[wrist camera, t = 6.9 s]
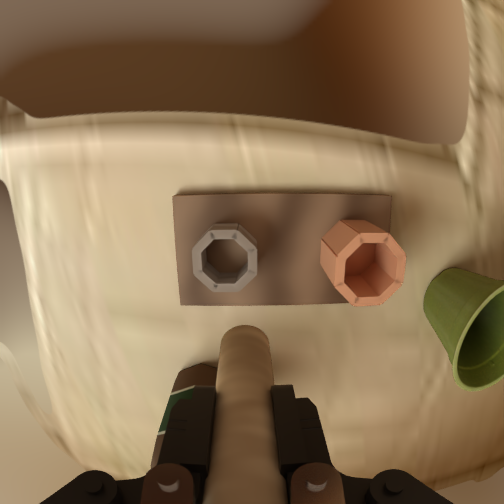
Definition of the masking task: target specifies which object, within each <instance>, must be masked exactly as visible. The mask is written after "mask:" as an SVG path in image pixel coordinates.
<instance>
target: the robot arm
mask: <svg viewBox="0 0 504 504" xmlns="http://www.w3.org/2000/svg"><path fill="white" fill-rule="evenodd" d="M216 394H217V391H216V386H196V385H195V386H194V390H193V394H192V399H179V400H178V401H177V402H176V404H175V405H174V406H173V407H172V408H171V411H170V415H169V421H168V423H167V427H166V431H165V434H164V438H163V442H162V446H161V450H160V454H159V458H158V462H157V465H156V466H155V467H153V468H151V469H150V470H149V471H148V472H147V473H146V475H145V476H143V477H140V478H137V479H129V480H118V481H115V480H114V478H113V477H112V476H111V475H109V474H108V473H106V472H103V471H98V470H92V471H87V472H84V473H82V474H80V475H79V476H77V477H76V478H75V479H73V480H72V481H71V482H69V483H68V484H67V485H65V486H64V487H62V488H61V489H60V490H58V491H57V492H55V493H54V494H53V495H51V496H50V497H48V498H47V499H46V500H44V501H43V502H41V503H40V504H203V496H204V486H205V480H206V478H207V477H208V472H209V461H210V451H211V441H212V432H213V422H214V413H215V403H216ZM271 395H272V404H273V413H274V422H275V431H276V440H277V450H278V459H279V468H280V474H281V475H282V476H283V477H284V478H285V480H286V486H287V495H288V503H289V504H453V503H452V502H450V501H449V500H447V499H445V498H444V497H443V496H441V495H439V494H438V493H436V492H435V491H433V490H432V489H430V488H429V487H427V486H426V485H425V484H423V483H422V482H420V481H419V480H417V479H416V478H414V477H413V476H411V475H410V474H409V473H407V472H405V471H402V470H397V469H390V470H385V471H382V472H380V473H379V474H377V475H376V476H375V477H374V478H373V479H367V478H355V477H350V476H346V475H344V474H342V473H340V472H339V471H338V470H336V469H335V467H334V466H333V465H332V463H331V460H330V456H329V452H328V448H327V445H326V441H325V437H324V433H323V430H322V426H321V422H320V420H319V415H318V411H317V407H316V406H315V405H314V404H313V403H312V402H311V401H310V399H309V398H295V394H294V389H293V385H272V386H271Z"/></svg>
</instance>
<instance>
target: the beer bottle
mask: <svg viewBox="0 0 504 504" xmlns="http://www.w3.org/2000/svg"><path fill="white" fill-rule="evenodd" d="M217 371H218V369H217V368H214V367H211V366H207V365H204V364H198V365H196V366H193V367H190V368H188V369H185V370H182V371H180V372H179V373H178V376H177V378H176V380H175V383H174V386H173V389H172V392H171V395H170V398H169V401H168V404H167V407H166V410H165V413H164V416H163V419H162V422H161V425H160V428H159V431H158V435H157V439H156V443H155V447H154V452H153V456H152V461H151V468H153V467H155V466H156V465H157V462H158V458H159V454H160V450H161V446H162V442H163V438H164V434H165V431H166V427H167V423H168V421H169V415H170V411H171V408H172V407H173V406H174V405H175V404H176V402H177V401H178V400H179V399H192V394H193V390H194V386H195V385H196V386H216V379H217Z"/></svg>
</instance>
